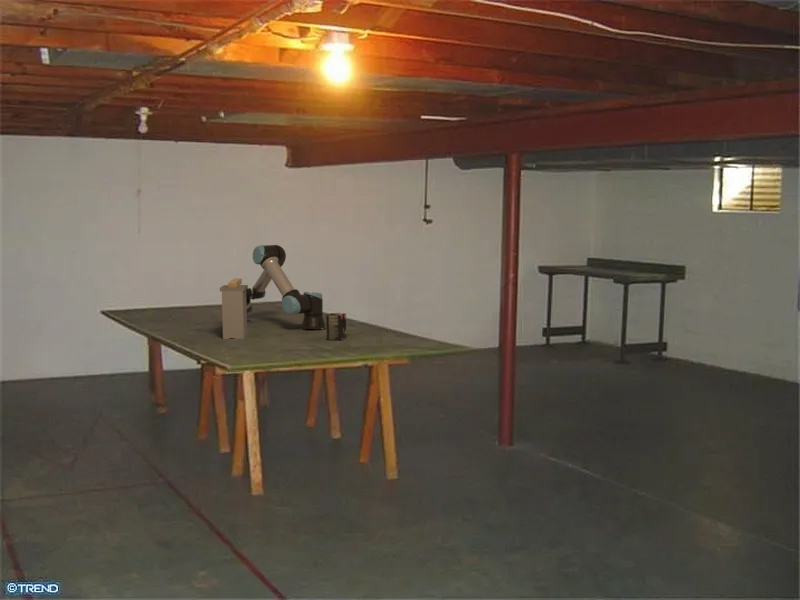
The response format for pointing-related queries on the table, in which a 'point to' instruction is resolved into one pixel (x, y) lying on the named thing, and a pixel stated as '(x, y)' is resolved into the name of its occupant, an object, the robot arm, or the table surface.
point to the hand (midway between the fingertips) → (240, 287)
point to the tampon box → (336, 326)
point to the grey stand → (234, 312)
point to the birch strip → (234, 283)
